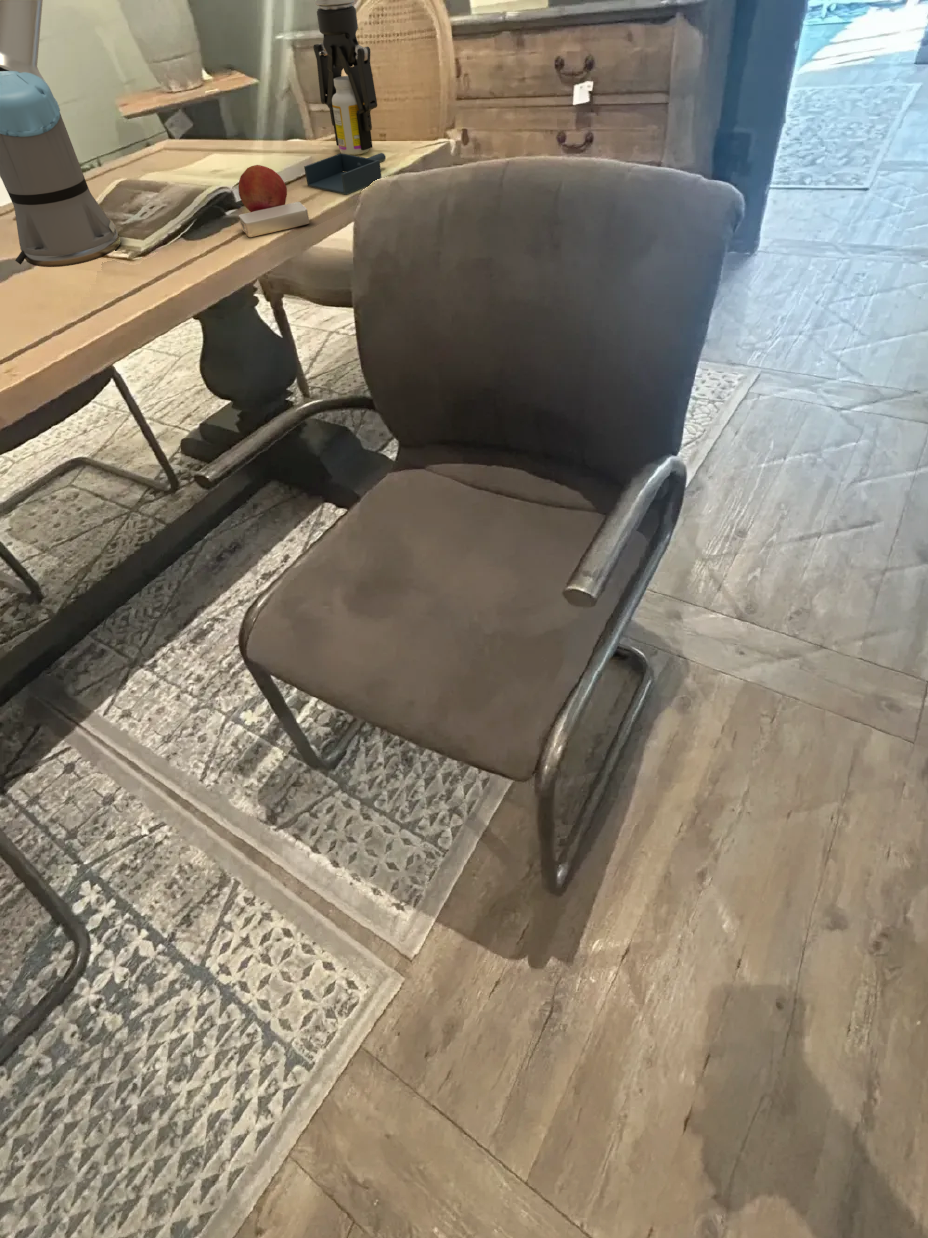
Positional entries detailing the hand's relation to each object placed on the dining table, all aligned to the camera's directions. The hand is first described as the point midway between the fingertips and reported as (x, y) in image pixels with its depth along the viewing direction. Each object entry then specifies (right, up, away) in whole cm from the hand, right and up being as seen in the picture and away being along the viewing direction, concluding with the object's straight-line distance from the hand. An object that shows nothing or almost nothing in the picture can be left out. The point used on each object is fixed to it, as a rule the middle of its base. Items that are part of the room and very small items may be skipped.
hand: (354, 146), depth 153 cm
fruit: (-11, -23, -28) cm, 38 cm away
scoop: (+2, -15, -13) cm, 20 cm away
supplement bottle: (0, -1, +1) cm, 1 cm away
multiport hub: (-9, -32, -32) cm, 46 cm away
